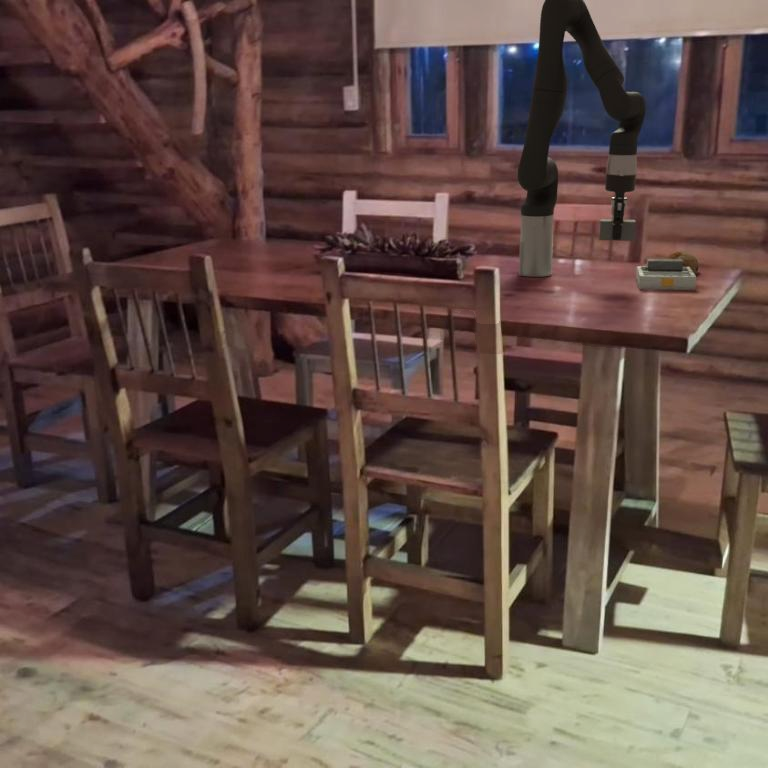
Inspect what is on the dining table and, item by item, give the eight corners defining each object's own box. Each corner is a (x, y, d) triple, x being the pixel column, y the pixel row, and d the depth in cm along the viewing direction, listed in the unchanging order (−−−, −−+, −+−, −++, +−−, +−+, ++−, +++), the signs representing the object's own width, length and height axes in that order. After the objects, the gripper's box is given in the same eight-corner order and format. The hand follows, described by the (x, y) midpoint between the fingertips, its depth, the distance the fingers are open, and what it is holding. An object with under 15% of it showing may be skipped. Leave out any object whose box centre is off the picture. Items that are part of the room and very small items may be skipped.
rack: (639, 289, 230) (640, 267, 228) (636, 278, 244) (637, 257, 243) (695, 290, 227) (697, 267, 225) (688, 279, 242) (690, 257, 240)
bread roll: (690, 289, 247) (705, 263, 244) (657, 272, 249) (671, 247, 246) (690, 282, 256) (704, 258, 253) (658, 266, 258) (672, 242, 254)
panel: (599, 240, 232) (600, 221, 231) (599, 237, 236) (600, 219, 234) (634, 241, 230) (635, 221, 229) (633, 238, 234) (635, 219, 233)
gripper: (606, 170, 235) (601, 233, 241) (606, 174, 222) (601, 242, 227) (634, 170, 234) (629, 234, 239) (637, 175, 220) (631, 243, 226)
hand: (616, 237), depth 233 cm, fingers closed on panel, 4 cm apart
